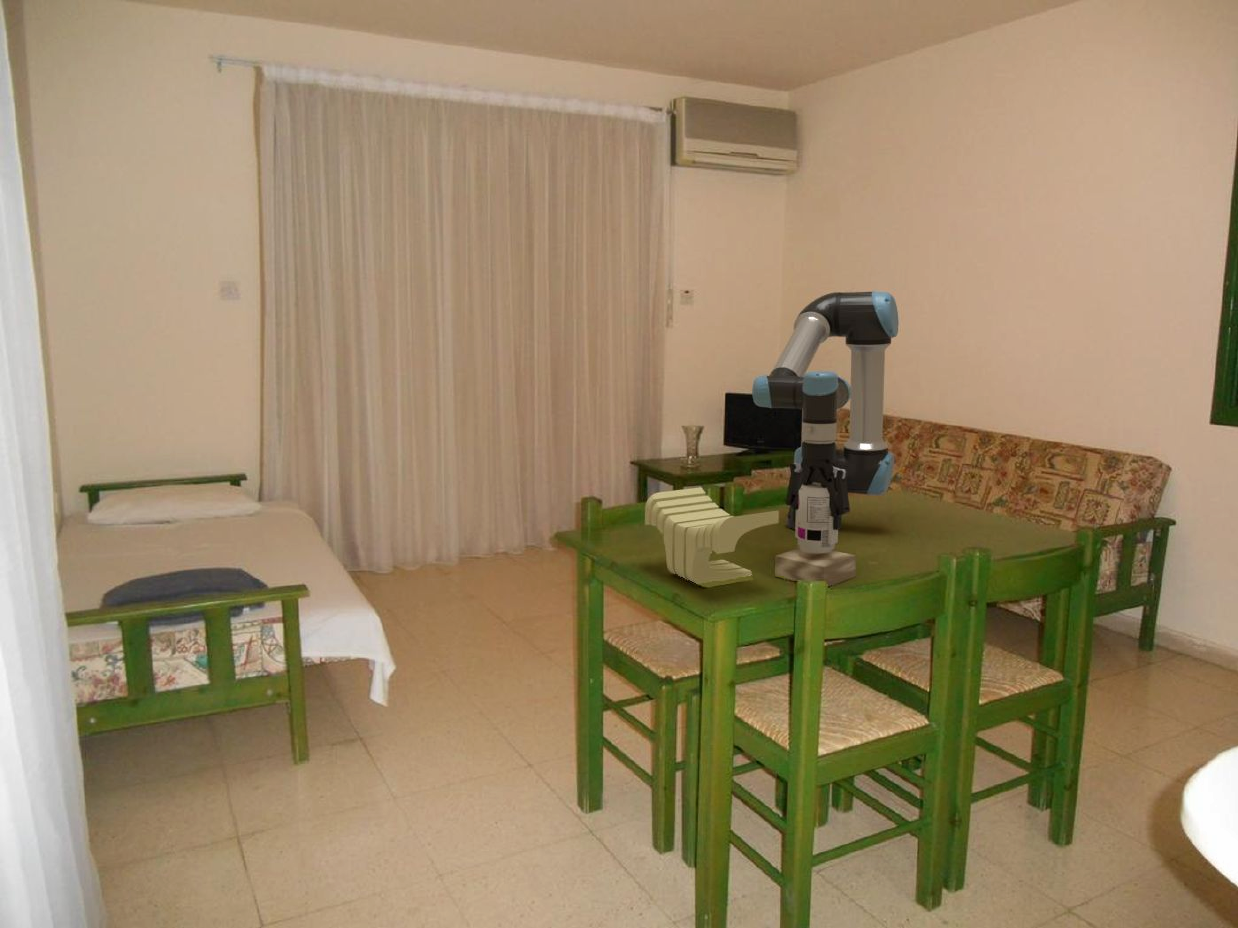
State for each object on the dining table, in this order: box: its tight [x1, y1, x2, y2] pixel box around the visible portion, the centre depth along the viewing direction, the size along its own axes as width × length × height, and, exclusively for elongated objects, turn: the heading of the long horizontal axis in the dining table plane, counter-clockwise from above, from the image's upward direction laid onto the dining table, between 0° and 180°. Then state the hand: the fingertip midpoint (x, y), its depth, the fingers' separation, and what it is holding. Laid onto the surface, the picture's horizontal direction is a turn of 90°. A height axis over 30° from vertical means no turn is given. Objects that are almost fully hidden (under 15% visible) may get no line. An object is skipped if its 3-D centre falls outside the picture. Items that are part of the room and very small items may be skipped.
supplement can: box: [797, 482, 836, 554], centre depth 208 cm, size 8×8×15 cm
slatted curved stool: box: [644, 486, 780, 585], centre depth 209 cm, size 30×16×18 cm, turn 29°
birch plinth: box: [774, 547, 857, 586], centre depth 210 cm, size 13×13×5 cm
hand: (816, 539), depth 209 cm, fingers closed on supplement can, 8 cm apart
